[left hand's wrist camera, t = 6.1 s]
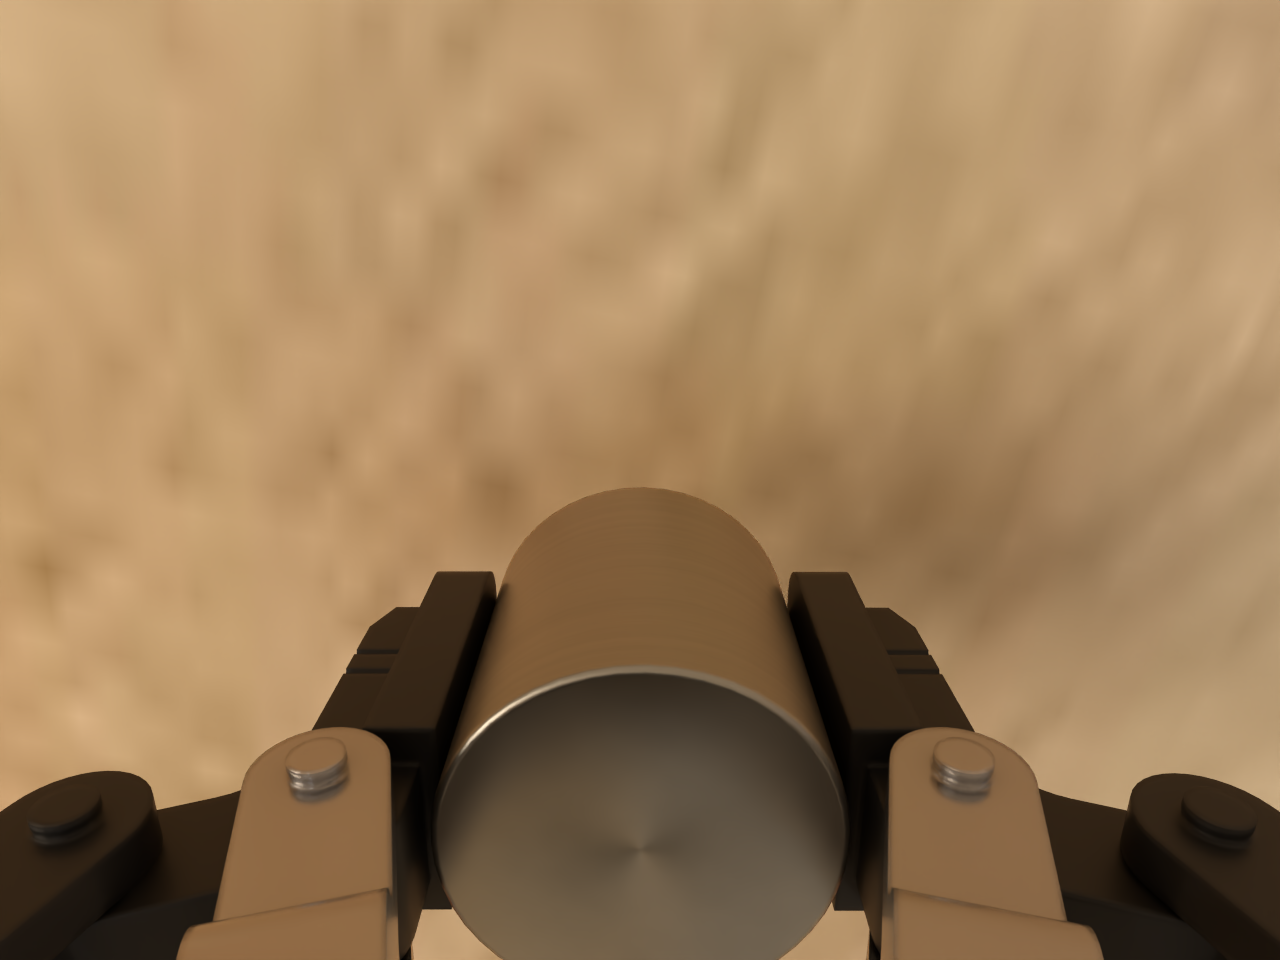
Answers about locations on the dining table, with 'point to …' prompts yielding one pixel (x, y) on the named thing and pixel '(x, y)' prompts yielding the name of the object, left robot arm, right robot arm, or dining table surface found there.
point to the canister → (640, 748)
